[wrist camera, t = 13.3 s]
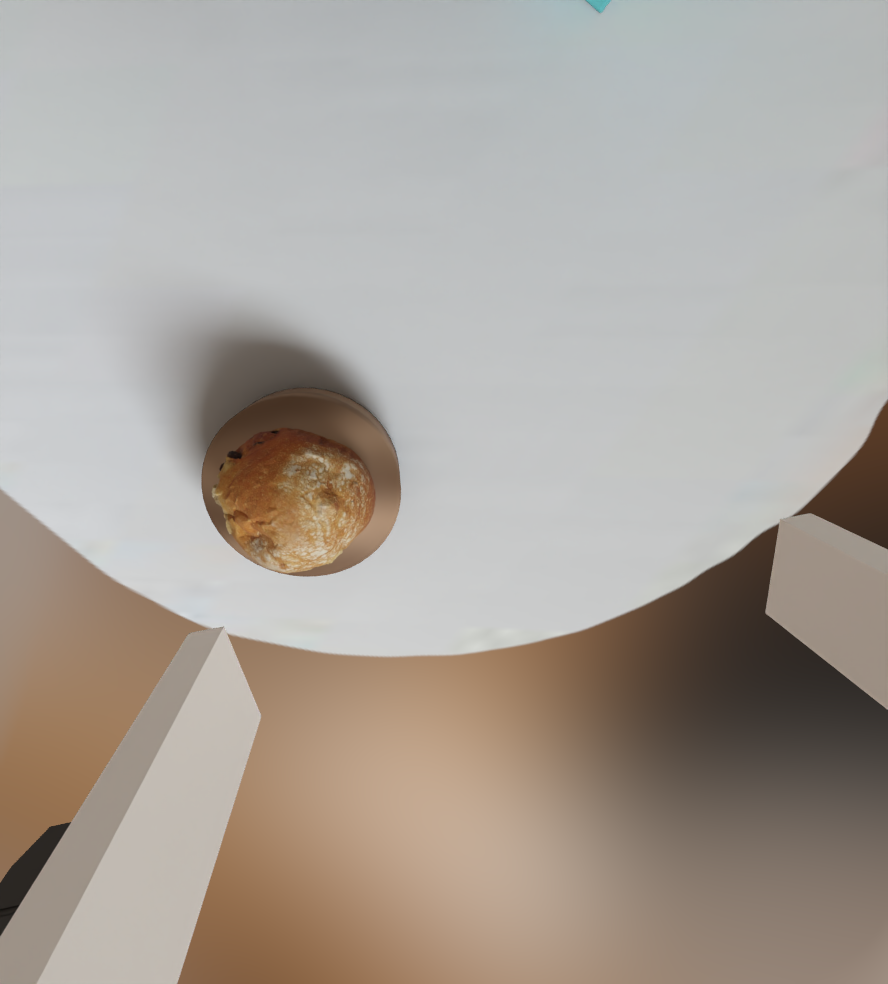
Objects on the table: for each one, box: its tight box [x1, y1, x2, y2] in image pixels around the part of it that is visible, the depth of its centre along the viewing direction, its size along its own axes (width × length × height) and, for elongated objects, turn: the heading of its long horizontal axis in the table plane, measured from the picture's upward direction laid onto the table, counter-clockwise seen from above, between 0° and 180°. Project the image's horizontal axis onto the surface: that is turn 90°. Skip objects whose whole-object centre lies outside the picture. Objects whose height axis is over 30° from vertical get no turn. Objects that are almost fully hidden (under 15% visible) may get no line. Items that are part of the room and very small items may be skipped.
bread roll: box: [211, 428, 376, 573], centre depth 31 cm, size 10×10×8 cm
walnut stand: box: [202, 388, 401, 576], centre depth 34 cm, size 14×14×4 cm
